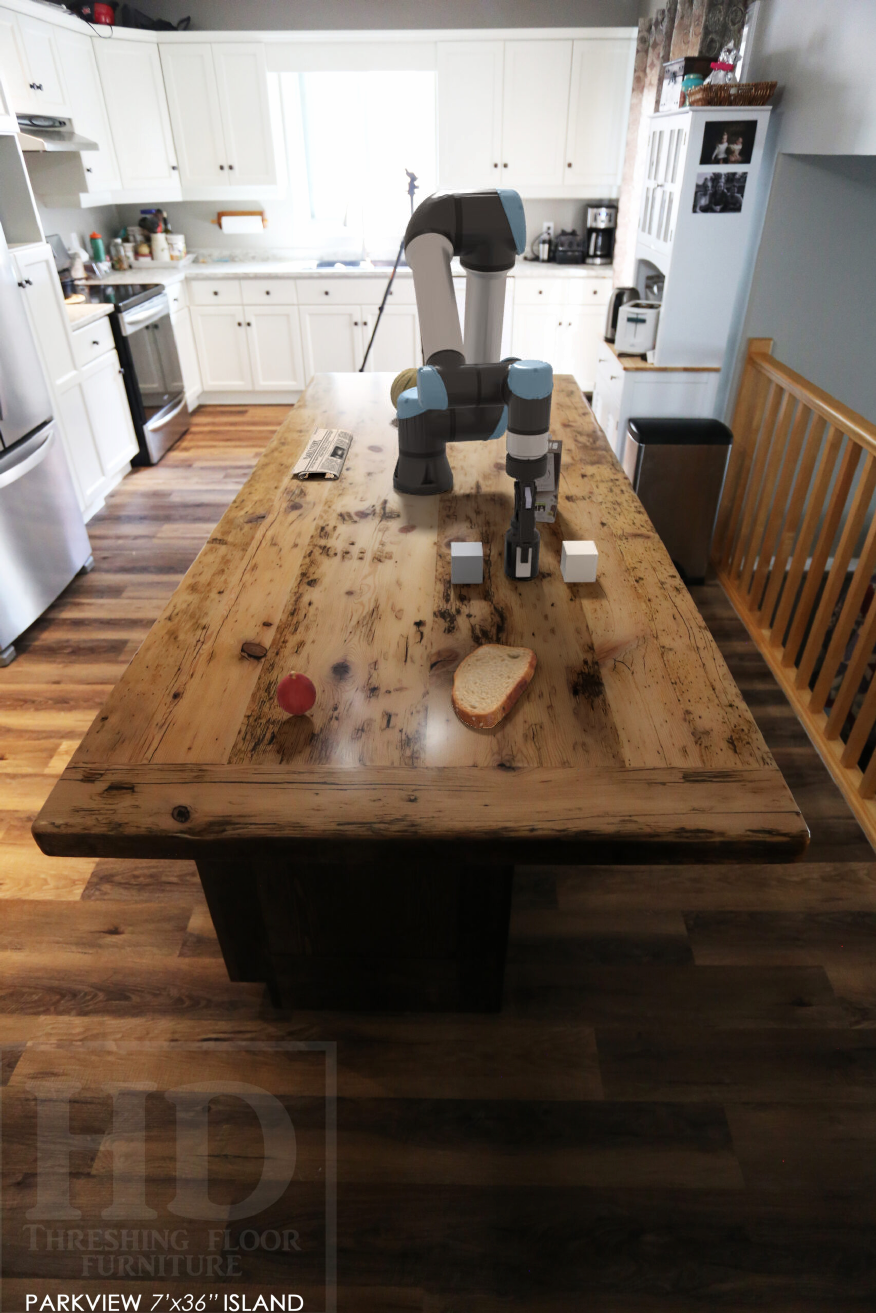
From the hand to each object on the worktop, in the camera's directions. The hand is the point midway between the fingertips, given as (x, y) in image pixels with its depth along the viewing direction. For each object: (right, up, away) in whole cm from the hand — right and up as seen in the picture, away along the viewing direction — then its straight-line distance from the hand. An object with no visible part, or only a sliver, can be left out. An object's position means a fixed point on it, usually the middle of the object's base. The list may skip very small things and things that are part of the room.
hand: (521, 566), depth 150 cm
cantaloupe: (-24, +58, +90) cm, 109 cm away
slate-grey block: (-11, -2, +1) cm, 11 cm away
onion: (-37, -27, -35) cm, 58 cm away
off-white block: (+11, -2, 0) cm, 11 cm away
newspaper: (-48, +37, +61) cm, 86 cm away
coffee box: (+8, +15, +25) cm, 30 cm away
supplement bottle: (0, -1, +1) cm, 2 cm away
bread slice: (-7, -23, -30) cm, 38 cm away
